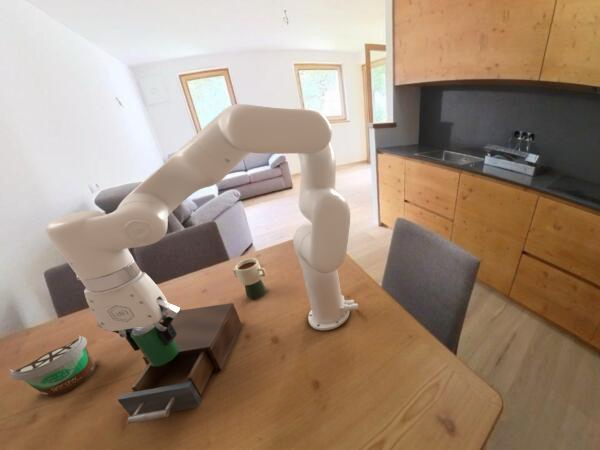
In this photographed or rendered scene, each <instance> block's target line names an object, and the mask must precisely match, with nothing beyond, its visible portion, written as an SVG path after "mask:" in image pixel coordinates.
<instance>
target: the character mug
mask: <svg viewBox="0 0 600 450" xmlns="http://www.w3.org/2000/svg"><path fill="white" fill-rule="evenodd" d="M232 273H233V276H234V277H235V278H238V280H239V283H240V284H241V285H242V286H244V290H245V294H246V298H247V299H249V300H256V299H259V298H261V297H263V296H264V295H265V294H266V292H267V288H266V286H265V285H264V283H263V281H262V277H266V276H267V272H266V269H265V267H261V265H260V263H259V260H258V259H257V258H254V257H252V258H251V257H250V258H246V259H243V260H241V261H239V262H238V263H236V265H235V266H234V268H232Z"/></svg>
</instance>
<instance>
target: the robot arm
mask: <svg viewBox="0 0 600 450" xmlns="http://www.w3.org/2000/svg"><path fill="white" fill-rule="evenodd" d="M332 137H333V131H332V126H331V124H330V122H329V120H328V119H327V118H326V117H325V115H324V114H322V113H320V112H318V111H316V110H311V109H302V108H283V107H271V106H270V107H269V106H262V105H255V104H254V105H253V104H246V103H235V104H231V105H229V106H228V107H226V108H224V109H223V110H222V111H221V112H220V113H219V114H218V115H216V116H215V117H214V118H213V119H212V120H211V121H209V122H208V124H206V125H205V126H204V127H203V128H201V130H200V131H199V132H197V133H196V134H195V135H194V136H193V137H192V138H191V139H189V141H188V142H186V143H185V144H184V145H182V146H181V147H180V148H179V149H178V150H177V151H176V152H174V153H173V154H172V155H171V156H170V157H169V158H168V159H167V160H166V161H165V162H164V163H163V164H162V165H161V166H159V167H158V168H157V169H155V170H154V172H152V173H151V174H150V175H149V176H147V178H145V179H144V180H143V181H142V182H141V183H140V184H138V186H136V187H135V188H134V189H133V190H132V191H131V192H129V193H128V194H127V195H126V196H125V197H124V198H123V199H122V200H121V202H120V203H119V204H118V206H117V208H116V209H115V210H114V211H112V212H110V213H107V214H106V213H105V212H103V211H100V210H95V209H94V210H84V211H83V210H82V211H78V212H73V213H70V214H67V215H63V216H60V217H58V218H56V219H53V220H51V221H50V222H49V223H48V224H47V225H46V227H45V233H46V234H47V236H48V237H49V240H50V241H51V242H52V244H53V245H54V246H55V247H56V249H57V251H58V252H59V253H60V254H61V256H62V257H63V258H64V260H65V261H66V262H67V264H68V265H69V266H70V268H71V269H72V271H73V272H74V273H75V275H76V280H77V281H78V282H81V283H82V285H83V286H84V288H85V289H84V290H83V292H84V297H85V300H86V303H87V305H88V307H89V310H90V311H91V313H92V314H93V316H94V318H95V319H96V321H97V327H99V328H100V329H101V328H102V329H103V330H104V331H107V332H113V333H115V334H118V335H119V337H120V338H122V339H123V338H125V340H126V341H127V342H128V343H129V345H130V346H131V348H132V349H133V350H134V351H139V350H140V349H139V347H138V346H137V344H136V343H135V342H134V340H133V339H132V337H131V336H130V333H131V331H132V330H133V329H134V328H137V327H143V326H149V325H154V326H155V327H156V328H157V329H159V330H160V331H159V332H158V334H159V336H160V338H161V339H162V341H163V342H164V344H165V345H170V344H171V342H172V341H173V339H174V338H175V336H176V335H177V333H176V331H175V329H174V328H173V326H172V324H171V322H172V320H173V319H174V318H175V317H176V316H177V315H178V314H179V312H180V311H181V310H182V309H181V308H180V307H179V306H176V305H174V304H172V303H169V302H168V300H167V298H166V296H165V295H164V293H163V292H162V291H161V288H159V286H158V285H157V283H156V282H154V280H153V279H152V278H151V277H150V276H149V275H148V274H147V273H146V272H145V271H142V270H141V269H140V266H139V265H138V263H137V261H136V260H135V259H134V257H133V255H132V253H131V251H130V249H133V248H141V247H146V246H150V245H153V244H155V243H158V242H159V241H161V240H162V239H163V238H164V237H165V236H166V234H167V231H168V226H169V224H168V222H169V216H170V215H171V214H172V213H173V212H174V211H175V210H176V209H177V208H178V207H179V206H180V205H182V203H183V202H184V201H186V200H187V199H188V198H189V197H191V196H192V195H194V194H195V193H196V192H198V191H200V190H203V189H205V188H206V189H207V188H209V187H213V186H215V185H217V184H219V183H221V182H222V181H223V180H224V179H225V177H227V176H228V175H229V174H230V173H231V172H232V170H234V169H235V168H236V167H237V166H238V165H239V164H240V163H241V162H242V161H244V159H245V158H247V157H248V156H249V155H250V154H251V153H252V154H270V155H272V154H273V155H279V154H280V155H282V154H283V155H284V154H287V155H288V154H297V157H298V159H299V164H300V165H299V166H300V181H299V195H298V196H299V197H298V208H299V211H300V213H301V214H302V216H303V217H304V218H305V219H307V220H308V222H304V223H303V224H301V225H299V226H298V227H297V229H296V230H295V232H294V233H293V239H292V240H293V241H292V243H293V249H294V251H295V254H296V258H297V259H298V263H299V265H300V268H301V273H302V276H303V282H304V285H305V289H306V293H307V297H308V301H309V306H310V311H309V312H308V315H307V319H308V324H309V325H310V327H311V328H313V329H314V330H318V331H330V330H334V329H337V328H338V327H340V326H341V325H343V324H344V323H345V322H346V321H347V319H348V318H349V317H350V312H351V311H359V304H358V303H355V299H349V300H347V299H345V295H342V290H341V284H340V279H339V272H338V271H339V270H338V269H339V268H340V267H341V266H342V265H343V263H344V261H345V259H346V256H347V251H348V244H349V236H350V226H351V209H350V206H349V204H348V202H347V200H346V199H345V197H343V196H342V195H341V194H339V193H337V192H336V178H337V177H336V175H337V174H336V171H337V162H336V161H337V160H336V156H335V151H334V149H333V146H332V144H331V141H332ZM165 312H166V313H168V314H169V315H167V314H166V313H165ZM160 319H162V320H164V322H163V323H162V322H161V321H159V320H160Z"/></svg>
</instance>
